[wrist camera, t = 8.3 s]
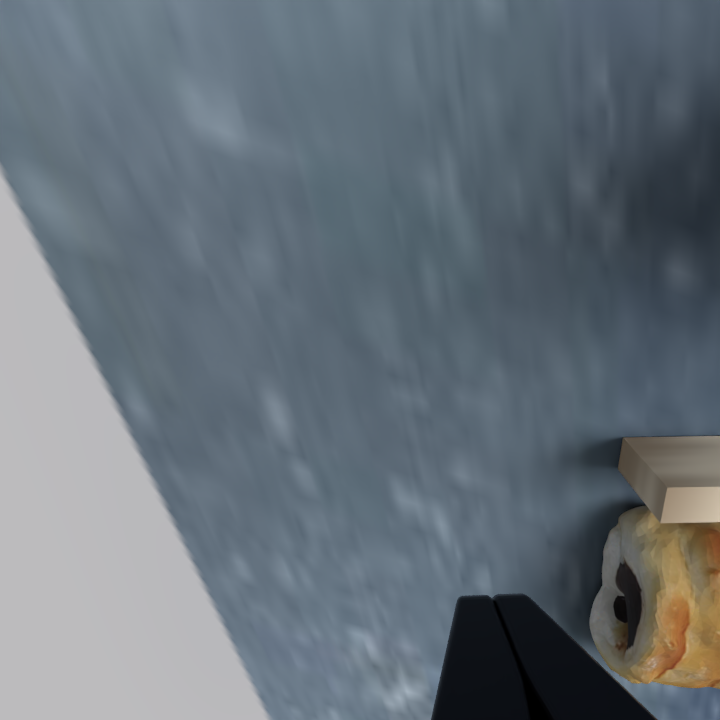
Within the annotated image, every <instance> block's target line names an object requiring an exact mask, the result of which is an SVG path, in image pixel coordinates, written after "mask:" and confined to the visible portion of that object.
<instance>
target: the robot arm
mask: <svg viewBox="0 0 720 720" xmlns="http://www.w3.org/2000/svg"><path fill="white" fill-rule="evenodd" d="M431 720H657V719H656V718H655V717H654V716H653V715H652V714H651V713H650V712H649V711H648V710H647V709H646V708H645V707H644V706H643V705H642V704H641V703H640V702H638V701H637V700H636V699H635V698H634V697H633V696H632V695H631V694H630V693H629V692H628V691H627V690H626V689H625V688H624V687H623V686H622V685H621V684H620V683H619V682H618V681H617V680H615V679H614V678H613V677H612V676H611V675H610V674H609V673H608V672H607V671H606V670H605V669H604V668H603V667H602V666H601V665H600V664H599V663H598V662H597V661H596V660H595V659H594V658H592V657H591V656H590V655H589V654H588V653H587V652H586V651H585V650H584V649H583V648H582V647H581V646H580V645H579V644H578V643H577V642H576V641H575V640H574V639H573V638H572V637H571V636H569V635H568V634H567V633H566V632H565V631H564V630H563V629H562V628H561V627H560V626H559V625H558V624H557V623H556V622H555V621H554V620H553V619H552V618H551V617H550V616H549V615H547V614H546V613H545V612H544V611H543V610H542V609H541V608H540V607H539V606H538V605H537V604H536V603H535V602H534V601H533V600H532V599H531V598H530V597H528V596H527V595H525V594H498V595H495V596H494V597H493V598H491V597H489V596H488V595H472V596H461V597H459V598H458V600H457V603H456V607H455V612H454V617H453V621H452V626H451V630H450V635H449V640H448V644H447V649H446V653H445V658H444V663H443V667H442V672H441V676H440V681H439V686H438V690H437V695H436V699H435V704H434V708H433V713H432V718H431Z"/></svg>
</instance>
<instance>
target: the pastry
mask: <svg viewBox="0 0 720 720" xmlns="http://www.w3.org/2000/svg"><path fill="white" fill-rule="evenodd" d="M602 581H603V583H602V587H601V589H600V591H599V592H598V594H597V596H596V598H595V600H594V603H593V606H592V610H591V615H590V619H589V625H590V630H591V634H592V637H593V640H594V643H595V645H596V647H597V649H598V651H599V653H600V654H601V656H602V658H603V659H604V661H605V662H606V664H607V665H608V666H609V667H610V669H611V670H613V671H615V672H616V673H618V674H619V675H620V676H622V677H624V678H625V679H627V680H628V681H630V682H631V683H638V684H639V683H641V682H642V683H645V684H648V683H650V682H651V681H653V682H657V683H661V684H666V685H673V686H678V687H687V688H702V687H714V688H718V689H720V522H701V523H660V522H659V521H658V520H657V518H656V517H655V516H654V515H653V513H652V512H651V511H650V509H649V508H648V507H647V506H640V507H635V508H633V509H631V510H628V511H626V512H624V513H623V514H621V515H620V517H619V519H618V524H617V525H616V526H615V527H614V528H612V529H611V531H610V532H609V535H608V538H607V541H606V544H605V546H604V550H603V565H602Z"/></svg>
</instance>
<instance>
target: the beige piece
mask: <svg viewBox="0 0 720 720" xmlns="http://www.w3.org/2000/svg"><path fill="white" fill-rule="evenodd" d="M618 470H619V471H620V473H621V474H622V475H623V476H624V478H625V479H626V480H627V482H628V483H629V484H630V485H631V487H632V488H633V489H634V490H635V492H636V493H637V494H638V496H639V497H640V498H641V499H642V501H643V502H644V503H645V504H646V506H647V507H648V508H649V509H650V511H651V512H652V513H653V515H654V516H655V517H656V518H657V520H658V521H659V522H660V523H701V522H720V436H680V437H623V441H622V447H621V453H620V459H619V465H618Z"/></svg>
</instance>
